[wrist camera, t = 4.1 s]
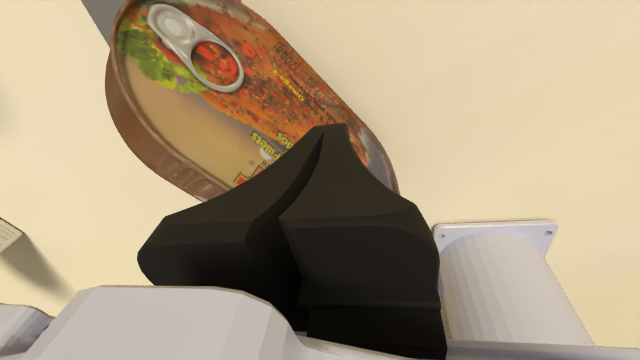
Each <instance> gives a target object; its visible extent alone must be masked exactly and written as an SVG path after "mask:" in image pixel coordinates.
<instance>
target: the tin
mask: <svg viewBox="0 0 640 360" xmlns="http://www.w3.org/2000/svg"><path fill="white" fill-rule="evenodd" d="M105 92H106V99H107V105H108V108H109V111H110V114H111V117H112V119H113V122H114V124H115V126H116V128H117V130H118V132H119V133H120V135H121V137H122V138H123V140H124V141H125V143H126V144H127V146H128V147H129V148H130V150H131V151H132V152H133V153H134V154H135V155H136V156H137V157H138V158H139V159H140V160H141V161H142V162H143V163H144V164H145V165H146V166H147V167H148V168H150V169H151V170H152V171H154V172H155V173H156V174H158V175H159V176H161V177H162V178H164V179H165V180H167V181H168V182H170V183H172V184H173V185H175V186H177V187H178V188H180V189H181V190H183V191H185V192H186V193H188V194H190V195H191V196H193V197H195V198H196V199H198V200H200V201H201V202H205V201H208V200H210V199H212V198H214V197H217V196H219V195H221V194H223V193H225V192H227V191H229V190H231V189H233V188H235V187H236V186H238V185H240V184H242V183H243V182H245V181H247V180H249V179H250V178H252V177H254V176H255V175H257V174H258V173H260V172H261V171H263V170H264V169H266V168H267V167H268V166H270V165H271V164H272V163H274V162H275V161H276V160H277V159H278V158H279V157H281V156H282V155H283V154H284V153H285V152H287V151H288V150H289V149H290V148H291V147H292V146H293V145H294V144H295V143H296V142H297V141H298V140H300V139H301V138H302V137H303V136H304V135H305V134H306V133H307V132H308V131H309V130H310V129H311V128H312V127H314V126H319V125H328V124H336V123H346V124H347V125H348V131H349V137H350V142H351V144H352V146H353V148H354V150H355V152H356V153H357V155H358V156H359V158H360V159H361V161H362V162H363V164H364V165H365V166H366V167H367V169H368V170H369V171H370V172H371V173H372V174H373V175H374V176H375V177H376V178H377V179H378V180H379V181H381V182H382V183H383V184H384V185H385V186H386V187H387V188H389V189H390V190H392V191H393V192H394V193H396V194H398V195H400V192H399V187H398V183H397V179H396V176H395V173H394V170H393V167H392V164H391V162H390V159H389V157H388V155H387V154H386V152H385V150H384V148H383V146H382V145H381V143H380V142H379V140H378V139H377V138H376V136H375V135H374V133H373V132H372V131H371V130H370V129H369V128H368V127H367V125H366V124H365V123H364V122H363V121H362V120H361V119H360V118H359V117H358V116H357V115H356V114H355V113H354V112H353V111H352V110H351V109H350V108H349V107H348V106H347V105H346V103H345V102H344V101H343V100H342V99H341V98H340V97H339V96H338V95H337V94H336V93H335V92H334V91H333V90H332V89H331V88H330V87H329V86H328V85H327V83H326V82H325V81H324V80H323V79H322V78H321V77H320V76H319V75H318V74H317V73H316V72H315V71H314V70H313V69H312V67H311V66H310V65H309V64H308V63H307V62H306V61H305V60H304V59H303V58H302V57H301V56H300V55H299V54H298V53H297V52H296V51H295V50H294V49H293V47H292V46H291V45H290V44H289V43H288V42H287V41H286V40H285V39H284V38H283V37H282V36H281V35H280V34H279V33H278V32H277V31H276V30H275V29H274V28H273V27H272V26H271V25H270V24H269V23H268V22H267V21H266V20H265V19H263V18H262V17H261V16H260V15H258V14H257V13H255V12H254V11H253V10H251V9H250V8H248V7H247V6H245V5H244V4H242V3H240V2H239V1H237V0H126V1H125V2H124V4H123V5H122V6H121V7H120V9H119V10H118V12H117V14H116V17H115V19H114V21H113V24H112V28H111V37H110V53H109V57H108V61H107V65H106V75H105Z"/></svg>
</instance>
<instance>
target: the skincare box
mask: <svg viewBox="0 0 640 360" xmlns="http://www.w3.org/2000/svg"><path fill="white" fill-rule="evenodd" d="M22 235H23V233H22V232H21V231H19V230H17V229H16V228H14V227H13V226H11V225H10V224H8V223H6V222H5V221H3V220H2V219H0V254H1V253H2V252H3V251H4V250H5V249H7V248H8V247H9V246H10V245H11V244H13V243H14V242H15V241H16V240H17V239H19V238H20V237H21V236H22Z"/></svg>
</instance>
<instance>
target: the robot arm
mask: <svg viewBox="0 0 640 360" xmlns="http://www.w3.org/2000/svg"><path fill="white" fill-rule="evenodd" d="M557 229H558V225H557V224H556V222H555V221H553V220H532V221H506V222H480V223H454V224H438V225H436V226H435V227H434V231H433V235H432V233H431V231H430V229H429V227H428V225H427V223H426V221H425V219H424V218H423V216H422V214H421V212H420V211H419V209H418V208H417V206H416V205H415V204H414V203H412V202H411V201H409V200H407V199H405V198H403V197H401V196H400V195H398V194H396V193H394V192H393V191H392V190H390V189H389V188H387V187H386V186H385V185H384V184H383V183H382V182H381V181H379V180H378V179H377V178H376V177H375V176H374V175H373V174H372V173H371V172H370V171H369V170H368V169H367V167H366V166H365V165H364V164H363V162H362V161H361V159H360V158H359V156H358V155H357V153H356V152H355V150H354V148H353V146H352V144H351V142H350V137H349V131H348V125H347V124H346V123H336V124H328V125H319V126H314V127H312V128H311V129H310V130H309V131H308V132H307V133H306V134H305V135H304V136H303V137H302V138H301V139H300V140H298V141H297V142H296V143H295V144H294V145H293V146H292V147H291V148H290V149H289V150H288V151H287V152H285V153H284V154H283V155H282V156H281V157H279V158H278V159H277V160H276V161H275V162H274V163H272V164H271V165H270V166H268V167H267V168H266V169H264V170H263V171H261V172H260V173H258V174H257V175H255V176H254V177H252V178H250V179H249V180H247V181H245V182H243V183H242V184H240V185H238V186H236V187H235V188H233V189H231V190H229V191H227V192H225V193H223V194H221V195H219V196H217V197H214V198H212V199H210V200H208V201H205V202H203V203H201V204H198V205H196V206H193V207H190V208H187V209H185V210H182V211H179V212H177V213H174V214H171V215H168V216H165V217H164V218H163V220H162V221H161V222H160V224H159V225H158V226H157V228H156V229H155V230H154V232H153V233H152V234H151V236H150V237H149V238H148V240H147V241H146V242H145V243H144V245H143V246H142V247H141V249H140V250H139V251H138V255H137V261H138V264H139V266H140V269H141V271H142V272H143V273H144V275H145V276H146V277H147V278H148V279H149V280H150V281H151V282H152V283H153V284H154V285H155V286H138V285H102V286H98V287H93V288H89V289H85V290H81V291H78V293H77V294H76V295H75V296H74V297H73V298H72V300H71V301H70V302H69V303H68V304H67V305H66V307H65V308H64V309H63V310H62V311H61V312H60V314H59V315H58V316H57V317H56V318H55V319H52V318H51V316H49V315H48V314H47V313H45V312H43V311H42V310H40V309H38V308H35V307H33V306H28V305H10V304H3V305H0V360H640V349H638V348H618V347H598V346H596V345H595V343H594V341H593V340H592V338H591V336H590V334H589V333H588V331H587V329H586V328H585V326H584V324H583V322H582V321H581V319H580V317H579V316H578V314H577V312H576V310H575V309H574V307H573V305H572V304H571V302H570V300H569V299H568V297H567V295H566V293H565V292H564V290H563V288H562V287H561V285H560V283H559V281H558V280H557V278H556V276H555V275H554V273H553V271H552V269H551V268H550V266H549V264H548V263H547V261H546V259H545V256H546V253H547V251H548V249H549V247H550V245H551V242H552V240H553V238H554V236H555V233H556V231H557ZM440 234H441V235H440ZM439 296H443V300H444V305H445V309H446V314H447V318H448V323H449V327H450V332H451V337H452V339H446V338H445V333H444V328H443V323H442V318H441V313H440V310H441V303H440V298H439Z"/></svg>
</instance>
